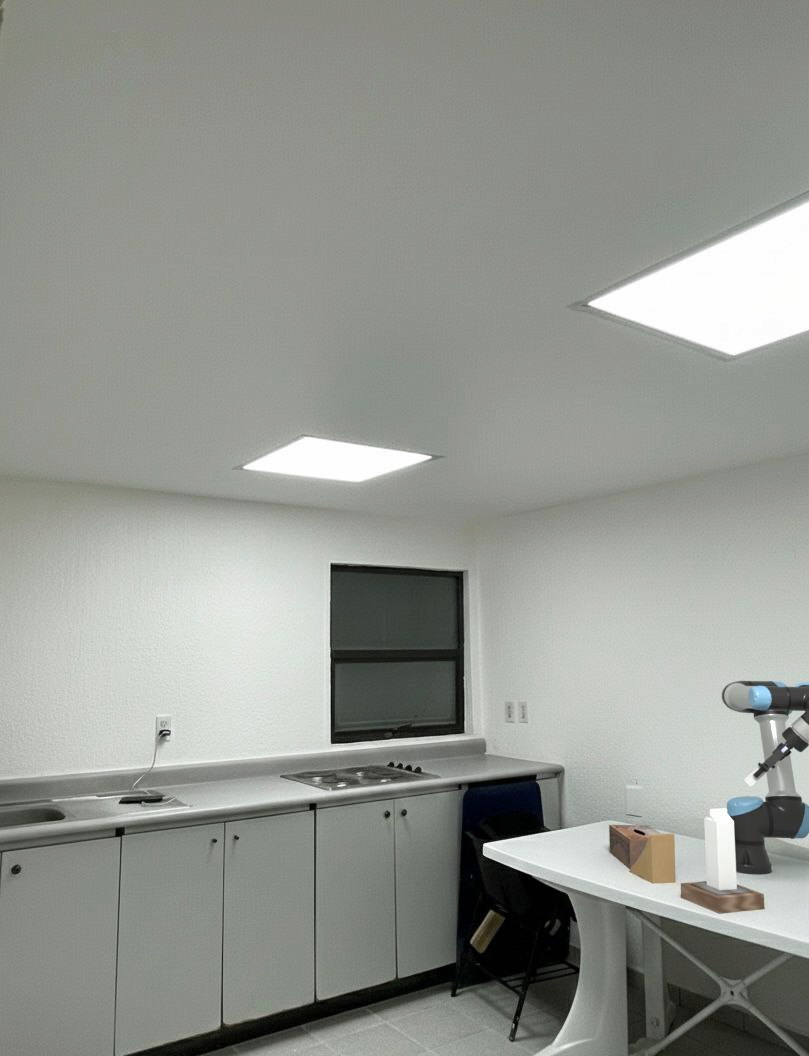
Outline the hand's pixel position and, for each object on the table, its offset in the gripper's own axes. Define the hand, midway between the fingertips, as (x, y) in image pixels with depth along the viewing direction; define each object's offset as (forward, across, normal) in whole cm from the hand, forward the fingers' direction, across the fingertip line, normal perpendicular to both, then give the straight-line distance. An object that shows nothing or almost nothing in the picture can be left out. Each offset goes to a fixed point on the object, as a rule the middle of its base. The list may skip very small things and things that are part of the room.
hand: (750, 780), depth 254 cm
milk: (+24, -21, -16) cm, 36 cm away
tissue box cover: (+51, +17, +4) cm, 54 cm away
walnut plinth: (+27, -21, -18) cm, 39 cm away
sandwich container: (+45, -3, -2) cm, 45 cm away
